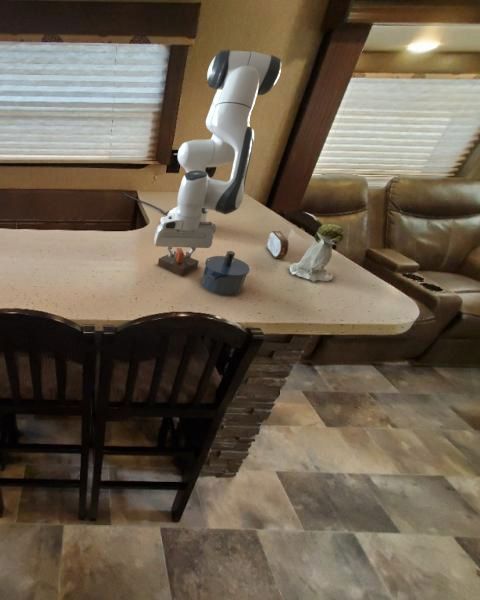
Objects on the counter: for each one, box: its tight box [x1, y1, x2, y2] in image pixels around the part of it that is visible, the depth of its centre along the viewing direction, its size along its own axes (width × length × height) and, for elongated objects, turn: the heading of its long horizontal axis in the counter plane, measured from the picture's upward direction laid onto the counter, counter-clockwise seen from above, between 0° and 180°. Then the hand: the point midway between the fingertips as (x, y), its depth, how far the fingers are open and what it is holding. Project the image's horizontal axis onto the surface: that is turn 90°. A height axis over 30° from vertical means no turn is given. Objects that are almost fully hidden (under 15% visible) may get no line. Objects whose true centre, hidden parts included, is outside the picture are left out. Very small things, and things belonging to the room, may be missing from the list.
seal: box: [175, 247, 185, 263], centre depth 110 cm, size 6×2×4 cm, turn 174°
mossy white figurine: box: [289, 223, 345, 283], centre depth 102 cm, size 12×13×18 cm
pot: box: [201, 266, 248, 296], centre depth 99 cm, size 13×18×8 cm
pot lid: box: [204, 250, 251, 277], centre depth 96 cm, size 14×14×6 cm
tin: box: [266, 230, 289, 259], centre depth 119 cm, size 15×3×8 cm, turn 168°
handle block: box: [157, 250, 200, 277], centre depth 112 cm, size 11×10×3 cm
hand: (179, 257), depth 111 cm, fingers open, 5 cm apart
